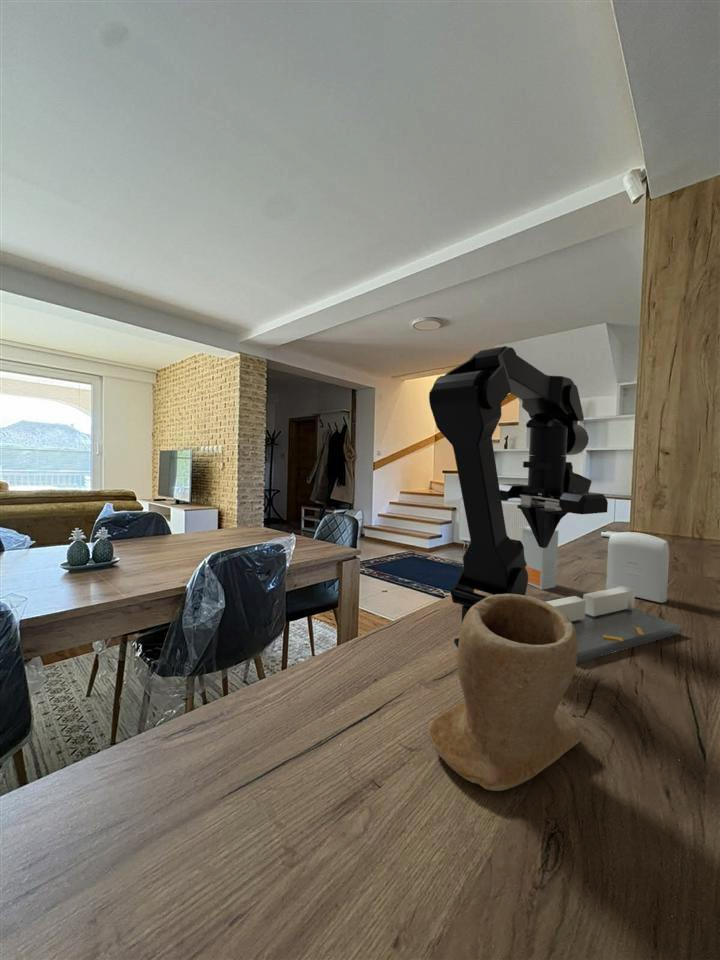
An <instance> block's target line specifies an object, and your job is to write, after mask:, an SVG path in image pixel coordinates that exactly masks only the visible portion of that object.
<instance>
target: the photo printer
mask: <svg viewBox="0 0 720 960" xmlns="http://www.w3.org/2000/svg"><path fill="white" fill-rule="evenodd" d="M669 563H670V549H669V542H668V541H667V540H665V539H664V538H660V537H658V536H654V535H651V534H647V533H642V532H633V531H623V532H615V533H612V534H610V536H609V539H608V543H607V561H606V565H607V566H606V583H605V584H606V587H605V589H606V590H608V589H613V588H617V587H623V586H624V587H628V588H631V589H633V590H635V598H638V599H639V598H640V599H643V600H647V601H651V602H656V603H660V604H661V603H666V602H667V601H668V599H667V598H668V586H669V585H668V583H669V582H668V581H669V565H670V564H669Z"/></svg>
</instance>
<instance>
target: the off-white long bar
mask: <svg viewBox="0 0 720 960" xmlns="http://www.w3.org/2000/svg"><path fill="white" fill-rule="evenodd" d="M635 598H636V597H635V590H633V589H631V588H628V587H624V586H623V587H617V588H613V589H608V590H607V589H603V590H598V591H594V592H588V593H583V597H582V599H584V600H586V605H585V613H586V614H589V615H591V616H598V615H602V614H606V613H611V612H615V611H619V610H624V609H631V608H633V609H634V608H635V602H636V601H635Z"/></svg>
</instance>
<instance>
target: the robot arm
mask: <svg viewBox="0 0 720 960" xmlns="http://www.w3.org/2000/svg"><path fill="white" fill-rule="evenodd" d="M509 394H510V395H512V396H515V397H516V398H517V399H520V400H521V402H522V403H521V407H522V409H524V411H526V413H528V415H529V416H528V417H529V418H530V419H529V420H527V422H526V424H525V427H526V428H527V429H529V447H528V448H529V449H528V455H529V456H528V461H526V460H525V461H522V462H523V463H522V468H525V469H526V468H528V470H527V471H528V473H527V484H524V483H504V484H503V483H502V484H501V483H500V484H499V477H498V471H497V464H496V457H495V452H494V451H495V450H494V445H493V435H494V433H495V431H496V429H497V427H498V424H499V422H500V420H501V418H502V402H503V401H505V399H506V398H507V397H508V395H509ZM428 400H429V406H430V410H431V413H432V416H433V419H434V422H435V425H436V428H437V430H438V431H439V432H440V433H441V434H442V435H443V437H444V438H446V440H447V441H448V442H449V443H450V444H451V446H452V449H453V454H454V459H455V464H456V465H455V466H456V470H457V474H458V476H457V477H458V481H459V486H460V490H461V491H460V492H461V495H462V502H463V507H464V513H465V517H466V522H467V529H468V533H469V539H470V540H469V541H470V542H469V544H468V546H467V548H466V550H465V552H464V554H463V556H462V568H461V570H460V572H459V574H458V576H457V578H456V579H455V582H454V583H453V585H452V588H451V589H450V595H451V601H452V603H453V604H458V605H462V606H461V623H462V622H463V619H464V617H465V615H466V613H467V612H468V610H469V609H470V608H471V607H472V606H473V605H475V604H476V603H478V602H479V601H481V600H482V599H484V598H486V597H489V595H488V596H487V595H484V594H480V593H477V592H475V590H476V591H479V592H483V593H486V594H490V595H491V596H492V595H496V594H518V595H525V596H526V593H527V589H528V585H529V584H528V573H527V571H526V568H525V566H527V563H526V561H525V557H524V546H523V544H522V540H518V539H513V538H510V537H509V536H508V533H507V530H506V529H507V528H506V521H505V516H504V509H503V503H502V501H504V502H508V500H510V499H520V504H517V505H516V506H517V509H519V510H520V511H521V513H522V514H523V516H524V518H525V519H526V522H527V524H528V526H530V528H531V530H532V532H533V534H534V536H535V539H536V541H537V543H538V545H539V547H541V548H547V547H548V545H549V542H550V540H551V538H552V536H553V534H554V531H555V530H557V529H556V528H557V526H558V525H559V523H560V522H561V520H562V519H563V517H565V516H566V515H567V514H569V513H571V514H574V515H575V514H576V515H591V514H592V515H593V514H603V513H604V514H605V513H608V504H609V502H608V499H607V498H606V496H605V495H604V493H597V492H590V488H591V485H592V481H593V480H591V479H589V478H587V477H585V476H583V475H581V474H579V473H576V472H574V471H573V467H574V466H573V463H572V462H569V461H567V456H575V455H578V454H580V453H582V452H583V451H584V450H585V449H586V448H587V447H588V445H589V437H590V436H589V434H588V432H587V430H586V429H585V427H583V426H582V425H580V424H578V422H583V421H584V420H585V418H584V412H583V407H582V403H581V398H580V393H579V390H578V386H577V385H576V384H575V383H574V381H573V380H572V378H570V377H566V376H563V375H549V374H545V373H544V372H542V370H539V369H538V368H537V367H536V366H533V365H532V364H531V363H529V362H528V361H527V360H524V359H523V358H522V357H520V356H519V355H517V352H516V350H515V349H514V348H513V347H510V346H506V345H504V346H497V347H493V348H488V349H482V350H479V351H477V352H476V353H474V354H473V355H472V356H471V358H469V359H468V360H467V361H465V362H463V363H462V364H460V365H458V366H456V367H455V368H453V369H451V370H450V371H448V372H447V373H445V374H444V375H441V376H439V377H437V378H436V380H435V381H434V383H433V386H432V387H431V389H430V391H429V393H428ZM453 642H454V645H456V646H458V644H459V637H457V638H454V640H453Z"/></svg>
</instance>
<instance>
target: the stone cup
mask: <svg viewBox="0 0 720 960" xmlns="http://www.w3.org/2000/svg"><path fill="white" fill-rule="evenodd" d="M458 638H459V644H458V645H457V657H456V659H457V671H458V673H457V674H458V679H459V682H460V686H461V689H462V692H463V698H464V701H463V702H460V703H458V704H456V705H454V706H452V707H450V708H448V709H447V710H445V711H443V712H442V713H440V714H438V715H437V716H436V717H435V718H434V719H433V720H431V722H429V724H428V727H427V733H428V738H429V740H430V743H431V745H432V747H433V749H434V750H435V752H436V753H437V754H438V756H439V757H440V758H441V759H442V760H443V761H444V763H446V764H447V766H448V767H449V768H451V769H452V770H453V771H454V772H456V774H458V775H459V776H460V777H461V778H463V779H465V780H467V781H469V782H470V783H473V784H477V785H480V787H482V788H484V789H485V790H488V791H493V792H495V791H496V792H499V791H500V792H501V791H506V790H509V789H511V788H515V787H516V786H520V785H521V784H523V783H525V782H527V781H529V780H531V779H532V778H534V777H536V776H537V775H538V774H539V773H541V772H542V771H544V770H545V769H546V768H548V767H549V766H551V765H552V764H554V763H555V762H556V761H557V760H558V759H560V758H561V757H562V756H563V755H565V753H567V752H568V751H569V750H571V749H572V748H574V747H575V746H576V745H578V744H579V743H580V741H581V740H582V739H583V738H584V737H583V734H582V731H581V729H580V728H579V727H578V725H577V722H576V721H574V720H573V719H572V718H571V716H570V715H569V714H568V712H567V711H566V710H565V709H564V707H562V706H561V705H560V703H561V701H562V699H563V697H564V695H565V693H566V691H568V690H567V689H569V687H570V685H571V682H572V679H573V677H574V674H575V672H576V666H577V664H578V663H577V648H578V640H577V634H576V630H575V627H574V626H573V624H572V623H571V621H570V620H569V619H568V618H567V617H566V616H565V615H564V614H563V613H562V612H561V611H560V610H559V609H557V608H556V607H554V606H552V605H550V604H549V603H547V602H546V601H545V600H542V599H539V598H536V597H532V596H529V595H526V594H525V595H518V594H496V595H492V594H491V595H490V596H489V595H488V597H486V598H484V599H482V600H481V601H479V602H478V603H476V604H475V605H473V606H472V607H471V608H470V609H469V610H468V612H467V613H466V615H465V617H464V619H463V622H462V621H461V626H460V632H459V637H458ZM576 663H577V664H576Z"/></svg>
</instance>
